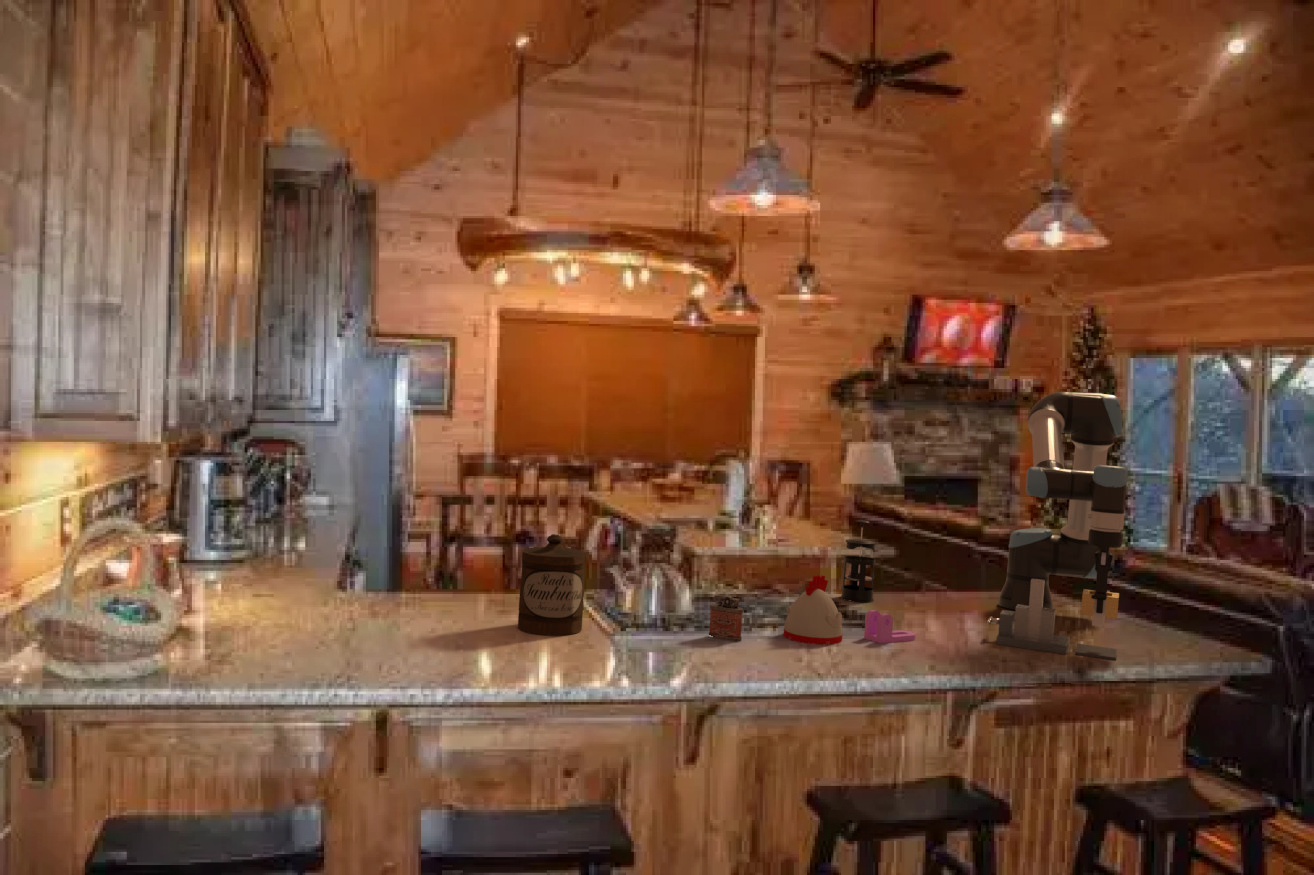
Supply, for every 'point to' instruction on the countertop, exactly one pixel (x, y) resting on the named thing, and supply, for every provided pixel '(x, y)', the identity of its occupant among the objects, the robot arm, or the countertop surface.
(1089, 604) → the orange-brown square frame
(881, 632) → the bracket
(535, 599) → the wooden container
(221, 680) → the countertop surface
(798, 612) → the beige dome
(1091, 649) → the rubber mat
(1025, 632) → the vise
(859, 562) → the french press
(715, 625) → the lighter
